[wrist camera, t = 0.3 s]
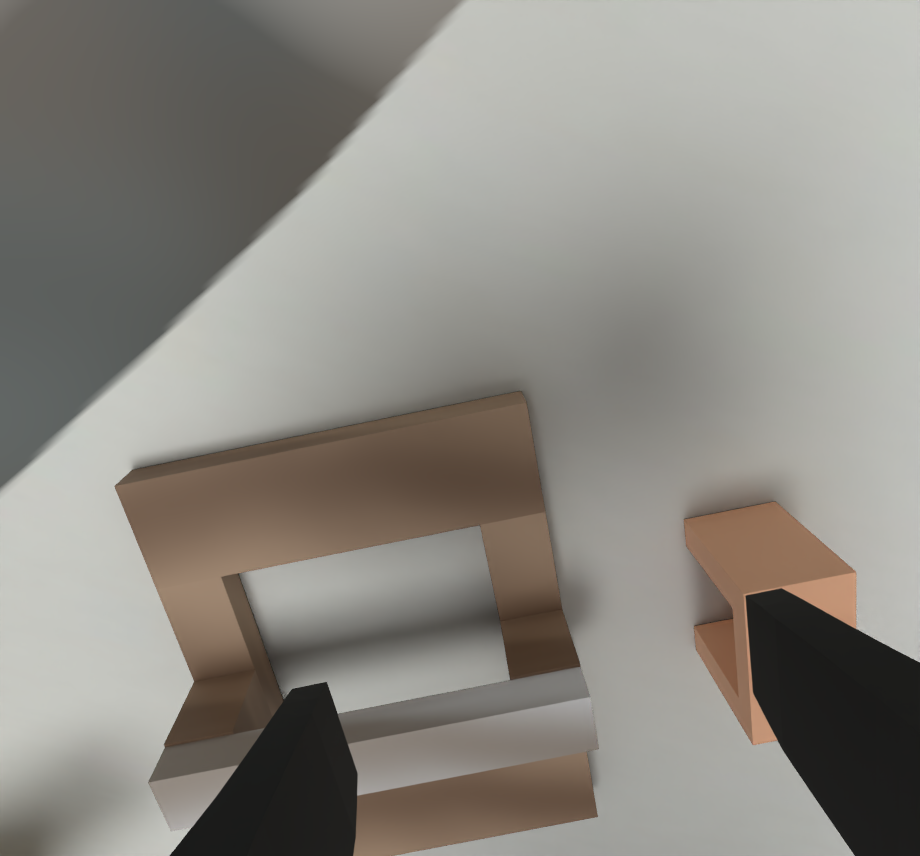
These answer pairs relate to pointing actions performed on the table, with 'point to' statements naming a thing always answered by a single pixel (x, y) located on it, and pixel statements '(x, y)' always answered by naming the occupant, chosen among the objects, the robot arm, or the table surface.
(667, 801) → the table surface
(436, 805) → the brown wooden frame
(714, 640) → the block
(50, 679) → the table surface
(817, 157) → the table surface
